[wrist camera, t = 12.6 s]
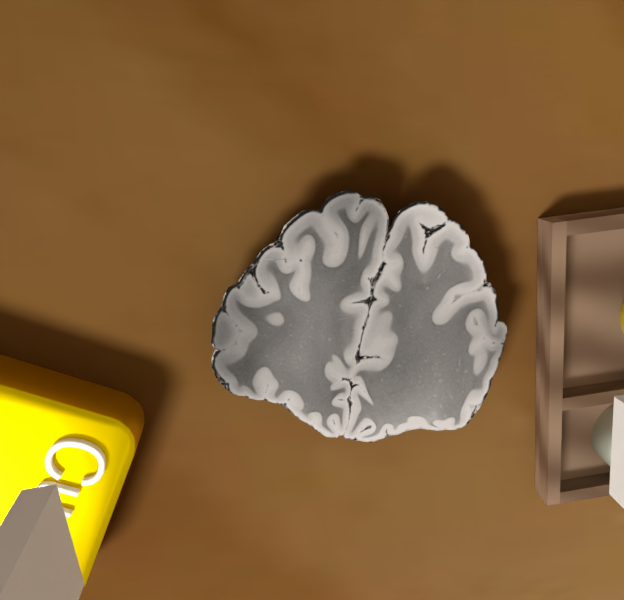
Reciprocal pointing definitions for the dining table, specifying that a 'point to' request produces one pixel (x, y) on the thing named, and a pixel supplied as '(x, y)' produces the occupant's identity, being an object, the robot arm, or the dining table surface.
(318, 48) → the dining table surface
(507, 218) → the dining table surface
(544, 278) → the organizer
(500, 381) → the dining table surface
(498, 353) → the brain slice
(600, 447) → the white capsule pill
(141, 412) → the element tile
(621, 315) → the lemon
